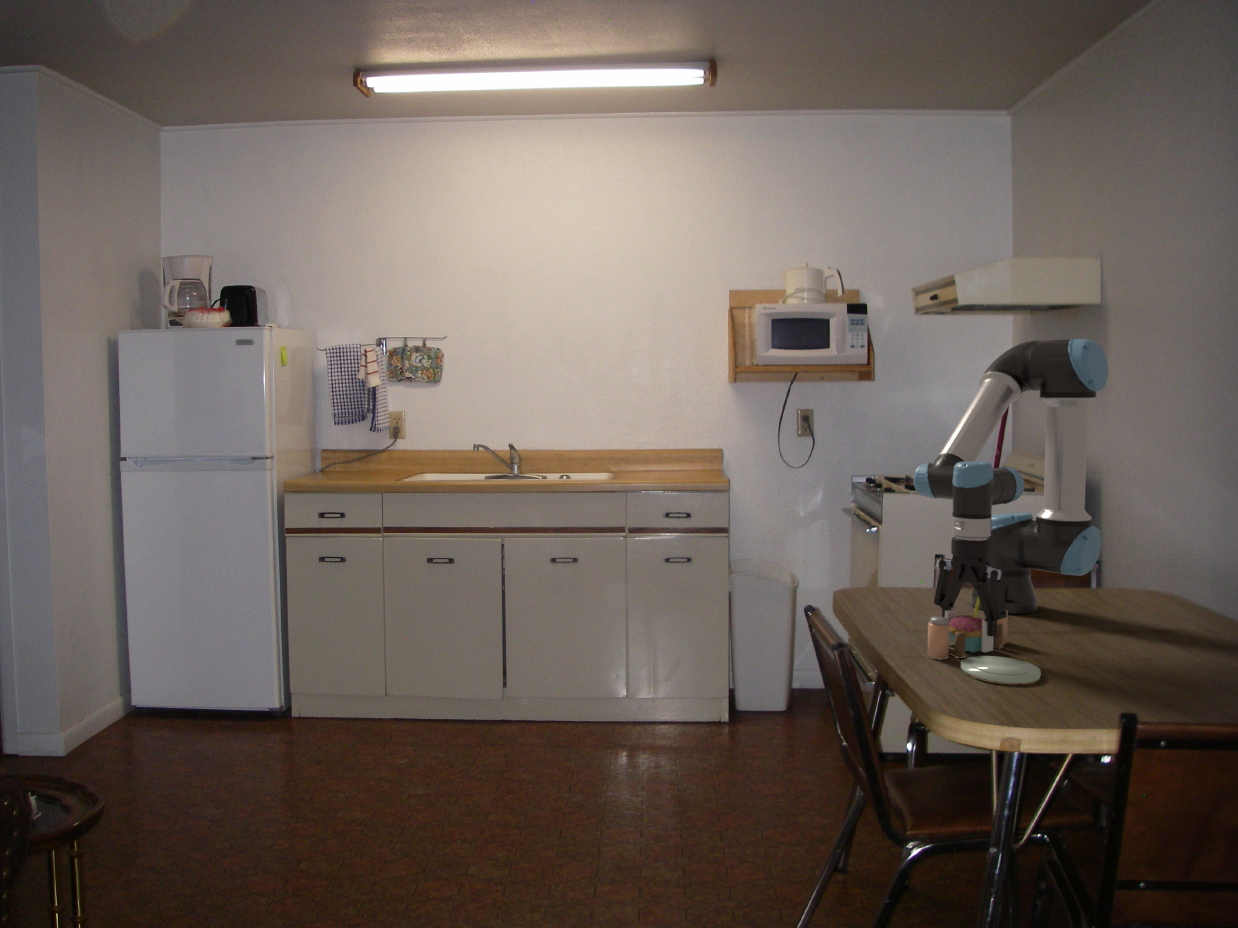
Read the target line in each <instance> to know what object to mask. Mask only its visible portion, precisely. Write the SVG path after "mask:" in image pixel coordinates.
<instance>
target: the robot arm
mask: <svg viewBox="0 0 1238 928" xmlns="http://www.w3.org/2000/svg"><path fill="white" fill-rule="evenodd" d="M1103 349H1104V348H1102V346H1101V345H1100V344H1099V342H1097V341H1095V340H1093V339H1089V338H1087V339H1086V338H1067V339H1050V340H1048V339H1047V340H1028V341H1024V342H1020V343H1018V344H1016V345H1014V346H1012V347H1011V348H1009V349H1007V350H1006V351H1004V352H1003V353H1002V354H1000V355H999V356H998V357H997V358H996V359H994V361H992V363H991V364H990V365H989V366H988V367H987V368H986V369H985V371H984V372H983V374H982V376H981V378H980V379H979V389H978V390H977V392H976V394H975V396H974V397H973V399H972V401H971V402H970V404H969V405H968V407H967V409H966V410H965V411H964V413H963V414H962V417H961V418H960V420H958V421H959V422H958V423H957V425H956V427H955V428H954V429H953V431H952V433H951V435H950V437H948V439H947V441H946V442H945V444H944V446H943V447H942V449H941V451H940V452H939V454H938V455H937V457H936V459H935V460H934V462H933V463H932V462H928V463H925V462H924V463H922V464H920V465H918V466H917V468H916V469H915V471H914V475H913V486H914V489H915V491H916V493H917V494H919V495H920V496H923V497H926V498H933V499H935V500H936V499H943V500H944V499H945V500H952V517H951V519H952V520H951V534H952V535H953V536H952V538H951V540H950V541H951V544H950V545H951V549H950V552H951V553H950V554H951V555H952V557H951V559H950V558H947V559H945V558H944V559H941V560H939V561H938V567H939V572H938V578H937V583H936V589H935V592H934V593H935V594H934V598H933V604H934V605H935V606H938V607H940V608H941V617H945V618H947V623H948V622H949V621H950V620H951V619H953V618H954V617H956V616H957V609H956V608H955V607H956V606H955V603H956V601H957V598H958V596H959V595H960V592H961V591H962V588H963V586H964V584H965V583H966V582H967V583H969V584H972V587H973V588H972V592H971V593H970V605H971V606H972V607H974V608H975V606H976V601H977V597H979V599H980V604H979V609H978V610H982V611H983V613H984V614H983V615H984V616H985V618H983V619H984V620H982V648H981V651H980V652H983V653H988V652H991V651H992V652H993V651H994V649H993V636H996V634H997V620H999V619H1003V618H1006V617H1007V613H1006V610H1007V611H1008V614H1009V615H1010V614H1015V615H1016V614H1017V615H1019V614H1021V615H1022V614H1030V613H1034V612H1036V611H1037V610H1038V598H1037V596H1036V593H1035V589H1034V584H1033V581H1032V579H1031V578H1032V577H1031V570H1037V571H1044V572H1049V573H1056V574H1061V575H1063V576H1068V575H1069V576H1077V577H1079V576H1084V575H1086V574H1089V572H1091V571H1092V569H1093V568H1094V567H1095V565H1096V564H1097V561H1098V559H1099V556H1100V553H1101V548H1102V541H1103V540H1102V539H1103V537H1102V533H1101V531H1100V529H1099V528H1098V527H1096V526H1094V525H1092V522H1093V521H1092V519H1093V517H1092V516H1091V515H1090V514H1089V513H1088V512H1087V511H1086V509H1085V506H1086V484H1087V483H1086V476H1087V453H1088V452H1087V449H1088V446H1087V445H1088V428H1089V427H1088V421H1089V420H1088V419H1089V406H1090V405H1091V404H1092V403H1093V402H1094V401H1095V400H1097V392H1100V391H1102V390H1103V389H1104V388H1105V387H1106V385H1107V380H1109V379H1108V378H1109V365H1108V361H1107V359H1108V358H1107V357H1106V353H1105V351H1104V350H1103ZM1027 391H1039V399H1040V401H1041V402H1043V403H1044V404H1045V406H1046V415H1045V416H1046V420H1045V421H1046V422H1045V447H1044V448H1045V452H1044V479H1043V480H1044V482H1043V483H1044V484H1043V508H1042V509H1041V510H1039V512H1037V513H1036V515H1035V519H1034V517H1033V514H1032V513H1031V512H1008V513H1007V512H1006V513H1003V512H1002V513H994V514H993V513H992V509H993V506H997V505H1007V504H1010V503H1011V502H1015V501H1016V500H1018V499H1019V498H1021V496H1022V495H1023V493H1024V491H1025V480H1024V478H1023V476H1022V474H1021V473H1020V472H1019V471H1018V470H1016V469H1014V468H1011V467H1005V466H1004V467H1003V466H1002V467H1001V466H999V467H997V468H996V467H994V468H993V465H992V464H991V463H990V462H986V461H977V460H978V458H979V456H980V455H981V453H982V451H983V449H984V448H985V446H986V445H987V443H988V441H989V439H990V438H991V436H992V434H993V433H994V431H995V429H996V428H997V426H998V424H999V422H1000V421H1001V419H1002V418H1003V416H1004V414H1005V413H1006V411H1007V410H1008V407H1009V406H1010V404H1011V403H1014V402H1016V401H1017V400H1018V399H1019V398H1020V397H1021V395H1022V394H1023V393H1024V392H1027ZM1033 519H1034V520H1033ZM952 571H954V573H953V574H952ZM954 608H955V609H954ZM1007 618H1008V617H1007ZM952 641H953V642H954V638H953V636H952V634H951V633H950V632H949V642H952Z"/></svg>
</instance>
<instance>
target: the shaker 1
mask: <svg viewBox="0 0 1238 928" xmlns="http://www.w3.org/2000/svg"><path fill="white" fill-rule="evenodd" d="M949 644H950V641H949V623H947V618H945V617H942V616H930V620H929V621H928V622H927V653H926V654H927V655H928V656H931V657H936V658H946V657H948V658H949V649H950V646H949Z"/></svg>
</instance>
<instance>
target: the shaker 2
mask: <svg viewBox="0 0 1238 928" xmlns="http://www.w3.org/2000/svg"><path fill="white" fill-rule="evenodd" d="M1006 613H1007V617H1006V618H1003V619H999V620H997V623H1000V624H1002V625H1003V628H1002V644H1003V646H1005V645H1004V644H1006V643H1007V642H1008V636H1007V635H1008V617H1009V615H1008V614H1009V613H1008V611H1007V610H1006ZM1006 645H1007V644H1006Z"/></svg>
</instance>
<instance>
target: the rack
mask: <svg viewBox="0 0 1238 928" xmlns="http://www.w3.org/2000/svg"><path fill="white" fill-rule="evenodd" d="M1002 628H1003V625H1002V624H1000V623H997V634H996V636H993V648H996V649H995V650H1002V649H1001V648H1004V645H1003V644H1002ZM965 639H966V633H964V632H955V641H954V649H952V648H949V654H952V655H955V656H958V657H964V656H966V657H967V652H965Z"/></svg>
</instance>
